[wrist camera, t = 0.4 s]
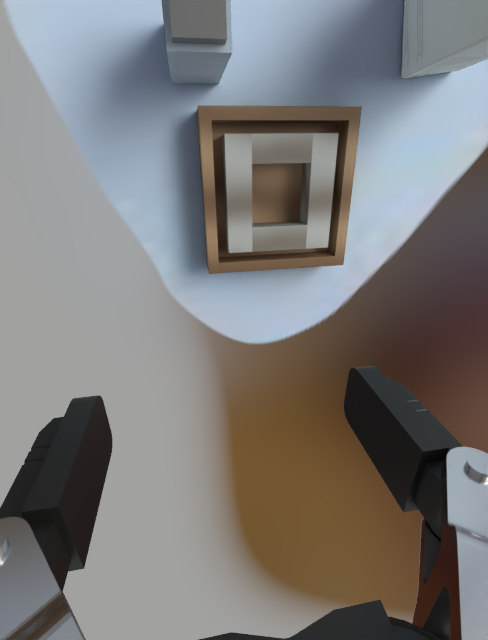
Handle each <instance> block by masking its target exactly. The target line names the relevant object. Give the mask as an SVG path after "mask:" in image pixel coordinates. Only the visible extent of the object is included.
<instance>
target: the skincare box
mask: <svg viewBox="0 0 488 640" xmlns="http://www.w3.org/2000/svg"><path fill="white" fill-rule="evenodd" d="M486 59H488V0H405V2H404V25H403V46H402V71H401V78H411V77H418V76H425V75H432V74H439V73H445V72H452V71H458V70H461V69H463V68H466V67H468V66H471V65H473V64H476V63H478V62H481V61H483V60H486Z"/></svg>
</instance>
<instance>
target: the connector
mask: <svg viewBox="0 0 488 640" xmlns="http://www.w3.org/2000/svg"><path fill="white" fill-rule="evenodd" d="M162 9H163V19H164V30H165V41H166V51H167V58H168V64H169V71H170V77H171V83H183V84H219V81H220V79H221V77H222V74H223V72H224V70H225V68H226V65H227V63H228V61H229V58H230V56H231V54H232V38H231V0H162Z"/></svg>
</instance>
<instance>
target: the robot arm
mask: <svg viewBox="0 0 488 640" xmlns="http://www.w3.org/2000/svg"><path fill="white" fill-rule="evenodd" d="M344 412H345V416H346V419H347V421H348V423H349V425H350V426H351V428H352V430H353V431H354V433H355V435H356V436H357V438H358V439H359V441H360V443H361V444H362V446H363V447H364V449H365V451H366V452H367V454H368V456H369V457H370V458H371V460H372V462H373V464H374V465H375V467H376V469H377V470H378V472H379V474H380V475H381V477H382V478H383V480H384V482H385V483H386V485H387V486H388V488H389V490H390V491H391V493H392V494H393V496H394V498H395V499H396V501H397V503H398V504H399V506H400V507H401V509H402V510H403V512H407V511H412V510H418V509H419V511H420V512H421V514H422V515H423V517H424V518H423V520H422V524H421V545H420V564H419V585H418V596H417V602H416V606H415V611H414V616H413V623H409V622H407V621H404V620H400V619H397V618H393V617H388V616H387V614H386V612H385V610H384V608H383V605H382V603H381V601H380V600H377V601H372V602H368V603H363V604H359V605H354V606H350V607H345V608H341V609H336V610H333V611H332V612H330V613H329V614H327V615H325V616H324V617H322V618H321V619H319V620H317V621H316V622H314V623H313V624H311V625H310V626H308V627H307V628H305V629H303V630H302V631H300V632H299V633H297V634H296V635H294V636H292V637H290V638H286V639H281V638H273V637H265V636H257V635H248V634H239V633H227V634H222V635H218V636H213V637H209V638H205V639H200V640H488V454H487V453H485V452H483V451H480V450H477V449H474V448H469V447H463V446H462V445H461V444H460V443H459V442H458V441H457V440H456V439H455V438H454V437H453V436H452V435H451V434H450V433H449V431H448V430H446V428H444V426H443V425H442V424H441V423H440V422H439V421H438V420H437V419H436V418H435V417H434V416H433V415H432V414H431V413H430V412H429V411H426V408H425V407H424V405H423V404H422V403H421V402H419V401H418V400H417V398H416V397H415V396H414V395H413V394H412V393H411V392H410V391H409V390H408V389H407V388H406V387H404V386H403V385H401V384H399V383H398V382H396V381H394V380H393V379H387V378H386V377H385V376H384V375H383V374H382V373H381V372H380V370H379V369H378V368H377V367H375V366H366V367H357V368H351V369H350V371H349V374H348V381H347V387H346V393H345V400H344ZM111 453H112V433H111V429H110V425H109V422H108V418H107V414H106V410H105V406H104V403H103V400H102V397H101V396H91V397H82V398H74V399H72V401H71V402H70V404H69V407H68V409H67V411H66V413H65V416H64V417H60V418H54V419H53V420H52V421H51V422H49V423H48V424H47V425H46V427H44V428H43V429H42V430H41V431H40V432H39V434H38V436H37V438H36V440H35V442H34V444H33V446H32V448H31V451H30V452H29V453H28V456H27V457H26V459H25V464H24V465H22V467H21V469H20V471H19V473H18V475H17V477H16V479H15V481H14V483H13V485H12V486H11V488H10V490H9V492H8V494H7V496H6V498H5V500H4V502H3V504H2V506H1V508H0V640H86V639H85V637H84V635H83V633H82V631H81V629H80V627H79V625H78V623H77V620H76V618H75V616H74V614H73V612H72V610H71V608H70V606H69V604H68V602H67V600H66V598H65V595H64V593H63V587H64V584H65V580H66V577H67V573H68V571H73V570H78V569H84V566H85V562H86V558H87V554H88V550H89V545H90V541H91V537H92V533H93V528H94V524H95V520H96V516H97V512H98V508H99V503H100V499H101V495H102V491H103V486H104V483H105V478H106V474H107V470H108V465H109V462H110V457H111Z"/></svg>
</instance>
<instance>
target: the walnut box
mask: <svg viewBox="0 0 488 640" xmlns="http://www.w3.org/2000/svg"><path fill="white" fill-rule="evenodd" d="M361 108H362V107H328V106H198V109H197V119H198V134H199V149H200V165H201V180H202V195H203V210H204V225H205V240H206V255H207V267H208V271H209V274H211V273H226V272H242V271H257V270H273V269H288V268H303V267H319V266H334V265H343V262H344V254H345V245H346V237H347V228H348V219H349V211H350V202H351V194H352V185H353V176H354V168H355V159H356V151H357V142H358V133H359V125H360V116H361Z"/></svg>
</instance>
